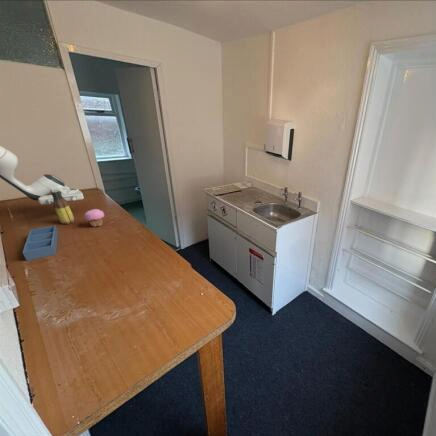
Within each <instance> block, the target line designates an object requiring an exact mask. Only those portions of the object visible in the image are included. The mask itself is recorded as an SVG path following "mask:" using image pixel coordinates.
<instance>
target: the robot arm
mask: <svg viewBox="0 0 436 436" xmlns="http://www.w3.org/2000/svg"><path fill="white" fill-rule="evenodd" d="M18 167H19V159H18V156H17V155H16V154H15V153H14V152H12V151H10V150H9V149H7V148H5V147H4V146H2V145H0V179H1V180H3V181H4V182H6V183H7V184H8V185H10V186H12V187H13V188H15V189H16V190H17V191H19V192H21V193H22V194H24V195H25V196H26V197H27V198H29V199H30V200H32V201H36V202H37V201H38V203H39V205H53V200H54V199H53V196H52V194H51V191H54V190H60V191H61V195H62V197H63V198H64V199H65V200H66V201H67V203H69V202H75V201H80V200H84V199H85V197H84V194H83V192H82V191H81V190H80V189H79V188H71V187H70V186H68V185H66V184H65V181H63V180H62V179H61V178H59V177H57V176H56V175H53V174H48V173H46V174H45V173H44V174H42V175H40V177H38V178H37V179H36V180H35V181H33V182H31V184H29V185H28V184H27V185H26V184H25V183H23V182H22V181H20V179H17V178H16V177H15V173H16V171H17V168H18Z"/></svg>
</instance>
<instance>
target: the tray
mask: <svg viewBox="0 0 436 436" xmlns="http://www.w3.org/2000/svg"><path fill="white" fill-rule="evenodd" d="M58 239H59V231H58V228H57V226H56V225H50V226H44V227H39V228H38V227H37V228H33V229H29V232H28V235H27V238H26V241H25V244H24V247H23V248H22V249H23V250H22V254H23V256H24V258H25V261H26V262H28V261H33V260H36V259H41V258H46V257H50V256H53V255H57V249H58Z"/></svg>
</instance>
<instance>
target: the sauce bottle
mask: <svg viewBox="0 0 436 436" xmlns="http://www.w3.org/2000/svg"><path fill="white" fill-rule="evenodd" d="M50 195H52V196H53V199H54V200H53V204H52V205H53V208H54V210H55V212H56V215H57V217H58V220H59V222H60V223H61V224H62V225H70V224H71V225H72V224H73V223H75V221H76V220H75V217H74V214H73V212H72V210H71V207H70V205H69V202H67V201H66V200H65V199H64V198H63V197H62V195H61V191H60V190H54V191H51V193H50Z"/></svg>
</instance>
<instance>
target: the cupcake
mask: <svg viewBox="0 0 436 436" xmlns="http://www.w3.org/2000/svg"><path fill="white" fill-rule="evenodd" d="M83 217H84V220H86V221H88V223H89V225H91V226H92V227H93V228H95V227H101V226H102V225H103V224H104V219H103V218H104V217H105V213H104V211H103V210H101V209H98V208H93V209H90V210H87V211H86V212H84V214H83Z"/></svg>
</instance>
